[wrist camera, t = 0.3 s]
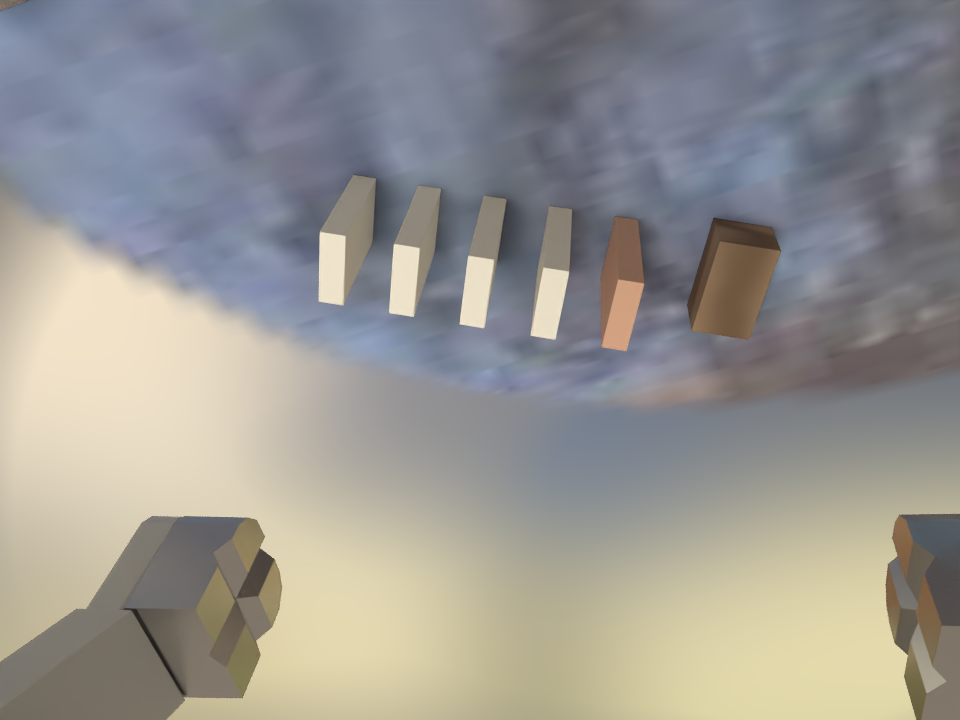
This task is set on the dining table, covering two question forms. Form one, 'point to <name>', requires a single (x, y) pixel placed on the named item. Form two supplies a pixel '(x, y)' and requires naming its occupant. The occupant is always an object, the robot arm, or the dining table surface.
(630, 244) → the domino
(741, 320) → the block
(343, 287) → the domino
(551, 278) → the domino
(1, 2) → the planter
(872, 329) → the dining table surface
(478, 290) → the domino
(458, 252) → the dining table surface
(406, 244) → the domino
